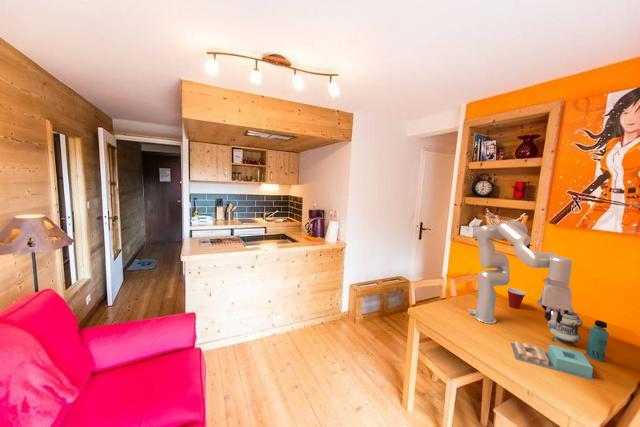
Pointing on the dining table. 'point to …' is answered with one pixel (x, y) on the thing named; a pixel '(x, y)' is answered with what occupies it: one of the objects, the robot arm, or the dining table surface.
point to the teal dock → (570, 361)
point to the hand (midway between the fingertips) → (552, 320)
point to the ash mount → (531, 353)
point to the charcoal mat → (550, 365)
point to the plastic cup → (515, 297)
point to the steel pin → (553, 318)
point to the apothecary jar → (567, 329)
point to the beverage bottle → (597, 341)
